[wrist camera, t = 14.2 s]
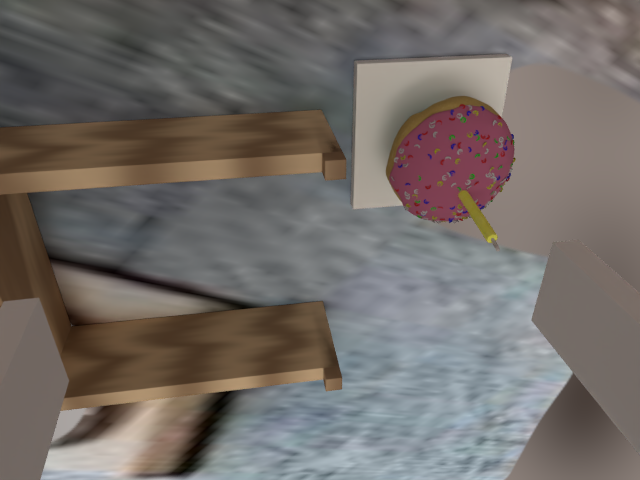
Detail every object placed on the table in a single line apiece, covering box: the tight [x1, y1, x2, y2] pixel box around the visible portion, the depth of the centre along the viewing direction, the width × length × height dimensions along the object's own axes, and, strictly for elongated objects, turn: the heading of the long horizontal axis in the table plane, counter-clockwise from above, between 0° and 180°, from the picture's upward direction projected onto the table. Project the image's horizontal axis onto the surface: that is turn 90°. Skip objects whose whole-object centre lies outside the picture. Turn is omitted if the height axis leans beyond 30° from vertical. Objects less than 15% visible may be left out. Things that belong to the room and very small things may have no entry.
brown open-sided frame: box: [0, 110, 346, 411], centre depth 37 cm, size 22×18×9 cm
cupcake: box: [386, 96, 515, 251], centre depth 34 cm, size 9×8×12 cm
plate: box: [351, 54, 512, 209], centre depth 39 cm, size 11×11×1 cm
